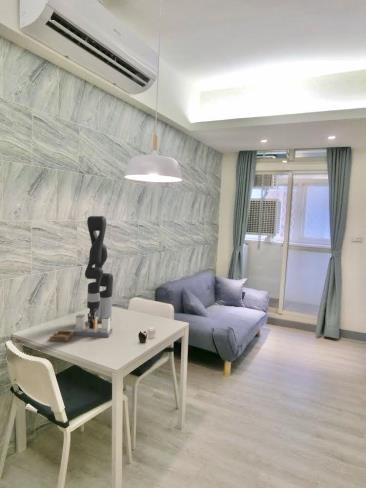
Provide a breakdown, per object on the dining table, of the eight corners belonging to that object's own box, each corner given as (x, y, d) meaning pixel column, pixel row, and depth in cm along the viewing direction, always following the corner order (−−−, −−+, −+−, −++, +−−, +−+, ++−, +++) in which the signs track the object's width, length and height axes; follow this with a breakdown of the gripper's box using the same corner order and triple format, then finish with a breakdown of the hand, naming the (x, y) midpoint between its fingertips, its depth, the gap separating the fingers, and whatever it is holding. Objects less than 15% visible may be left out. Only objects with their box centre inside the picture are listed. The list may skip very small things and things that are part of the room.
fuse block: (78, 329, 203) (78, 312, 202) (112, 331, 203) (112, 314, 202) (72, 335, 195) (72, 317, 194) (108, 337, 194) (108, 319, 193)
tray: (57, 334, 194) (57, 330, 194) (73, 335, 194) (73, 331, 194) (50, 340, 184) (50, 336, 184) (67, 342, 184) (67, 337, 184)
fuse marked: (90, 329, 200) (91, 314, 200) (97, 329, 200) (97, 315, 199) (88, 331, 196) (88, 316, 196) (95, 331, 196) (95, 317, 195)
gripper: (91, 296, 204) (90, 322, 205) (83, 302, 190) (82, 330, 191) (103, 297, 204) (102, 323, 205) (95, 303, 189) (95, 331, 191)
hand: (93, 326), depth 198 cm, fingers open, 5 cm apart
